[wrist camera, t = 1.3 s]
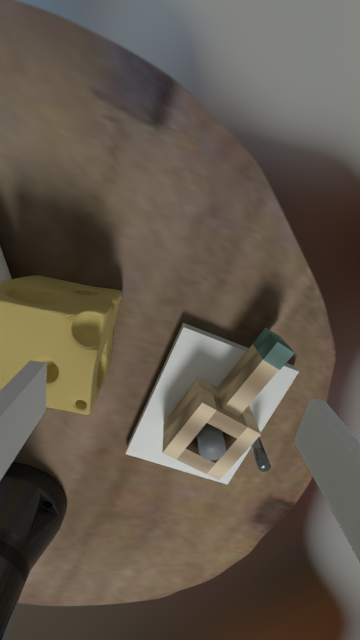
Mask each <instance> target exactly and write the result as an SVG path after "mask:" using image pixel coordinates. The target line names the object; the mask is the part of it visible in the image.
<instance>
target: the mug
mask: <svg viewBox="0 0 360 640" xmlns="http://www.w3.org/2000/svg"><path fill="white" fill-rule="evenodd" d="M8 280H12V278H11V275H10V272H9V269H8V266H7V263H6V261H5V258H4V255H3V252H2V249H1V246H0V283H1V282H4V281H8Z"/></svg>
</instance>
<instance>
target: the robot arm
mask: <svg viewBox="0 0 360 640" xmlns="http://www.w3.org/2000/svg"><path fill="white" fill-rule="evenodd" d="M46 377H47V363H46V362H39V361H31V360H30V361H29V362H28V363H27V364H26V365H25V366H24V367H23V368H22V369H21V370H20V371H19V372H18V373H17V374H16V375H15V376H14V377H13V378H12V379H11V380H10V381H9V382H8V383H7V384H6V385H5V386H4V387H3V388H2V389H1V390H0V640H3V638H4V635H5V632H6V630H7V628H8V625H9V623H10V620H11V618H12V615H13V613H14V610H15V608H16V605H17V602H18V600H19V597H20V595H21V592H22V590H23V587H24V584H25V582H26V580H27V577H28V575H29V572H30V570H31V569H32V567H33V566H34V565H35V563H36V562H37V560H38V559H39V558H40V556H41V555H42V553H43V552H44V551H45V549H46V548H47V546H48V545H49V544H50V542H51V541H52V539H53V538H54V537H55V535H56V534H57V532H58V531H59V529H60V527H61V524H62V521H63V519H64V516H65V513H66V509H67V501H66V497H65V494H64V492H63V490H62V489H61V487H60V486H59V485H58V484H57V482H56V481H55V480H53V479H52V478H51V477H50V476H48V475H47V474H45V473H43V472H42V471H40V470H37V469H35V468H32V467H29V466H26V465H22V464H15V463H12V462H13V461H14V459H15V458H16V456H17V454H18V453H19V451H20V450H21V448H22V447H23V445H24V444H25V442H26V441H27V439H28V437H29V436H30V434H31V433H32V431H33V430H34V428H35V427H36V425H37V424H38V422H39V420H40V419H41V417H42V416H43V414H44V413H45V411H46ZM294 442H295V444H296V446H297V448H298V450H299V452H300V453H301V455H302V457H303V459H304V461H305V463H306V464H307V466H308V468H309V470H310V472H311V474H312V475H313V477H314V479H315V481H316V483H317V485H318V486H319V488H320V490H321V492H322V494H323V496H324V497H325V499H326V501H327V503H328V505H329V507H330V508H331V510H332V512H333V514H334V516H335V517H336V519H337V521H338V523H339V525H340V527H341V529H342V530H343V532H344V534H345V536H346V538H347V540H348V542H349V543H350V545H351V547H352V549H353V551H354V553H355V554H356V556H357V558H358V560H359V562H360V443H359V442H358V440H357V439H356V438H355V437H354V436H353V435H352V433H351V432H350V431H349V430H348V428H347V427H346V426H345V425H344V424H343V422H342V421H341V420H340V419H339V418H338V416H337V415H336V414H335V413H334V411H333V410H332V409H331V408H330V407H329V405H328V404H327V403H326V402H325V401H324V400H317V399H310V400H309V403H308V405H307V408H306V411H305V413H304V416H303V418H302V421H301V424H300V426H299V429H298V431H297V434H296V437H295V439H294Z"/></svg>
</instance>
